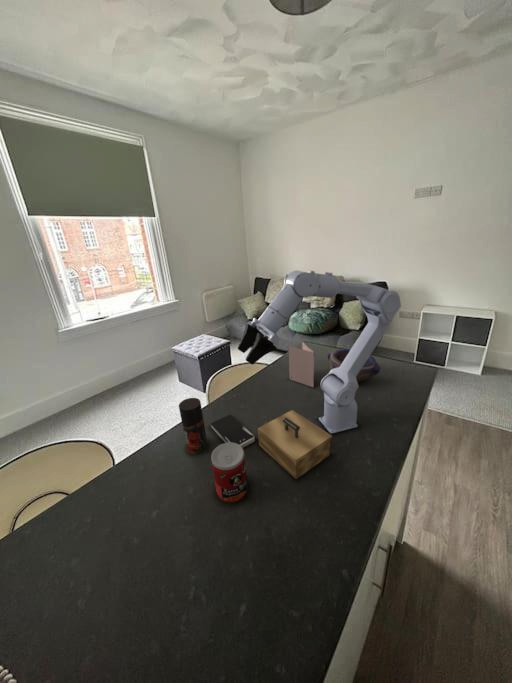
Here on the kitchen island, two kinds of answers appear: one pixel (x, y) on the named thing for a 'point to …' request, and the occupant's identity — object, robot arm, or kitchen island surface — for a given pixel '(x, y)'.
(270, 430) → the lid
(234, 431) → the smartphone
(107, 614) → the kitchen island surface
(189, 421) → the deodorant
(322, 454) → the compartment
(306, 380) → the greeting card
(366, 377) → the bowl
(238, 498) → the canned food
